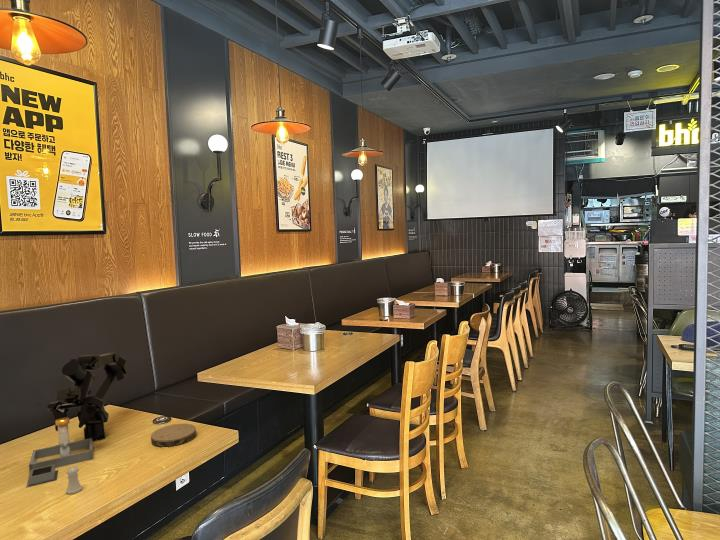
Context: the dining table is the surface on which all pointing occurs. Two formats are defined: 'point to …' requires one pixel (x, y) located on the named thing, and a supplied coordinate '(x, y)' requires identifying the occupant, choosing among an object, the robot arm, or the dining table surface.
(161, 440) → the wooden coaster disc
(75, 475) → the rook chess piece
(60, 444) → the stop pin
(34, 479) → the bracket
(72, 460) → the pin tray
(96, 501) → the dining table surface
